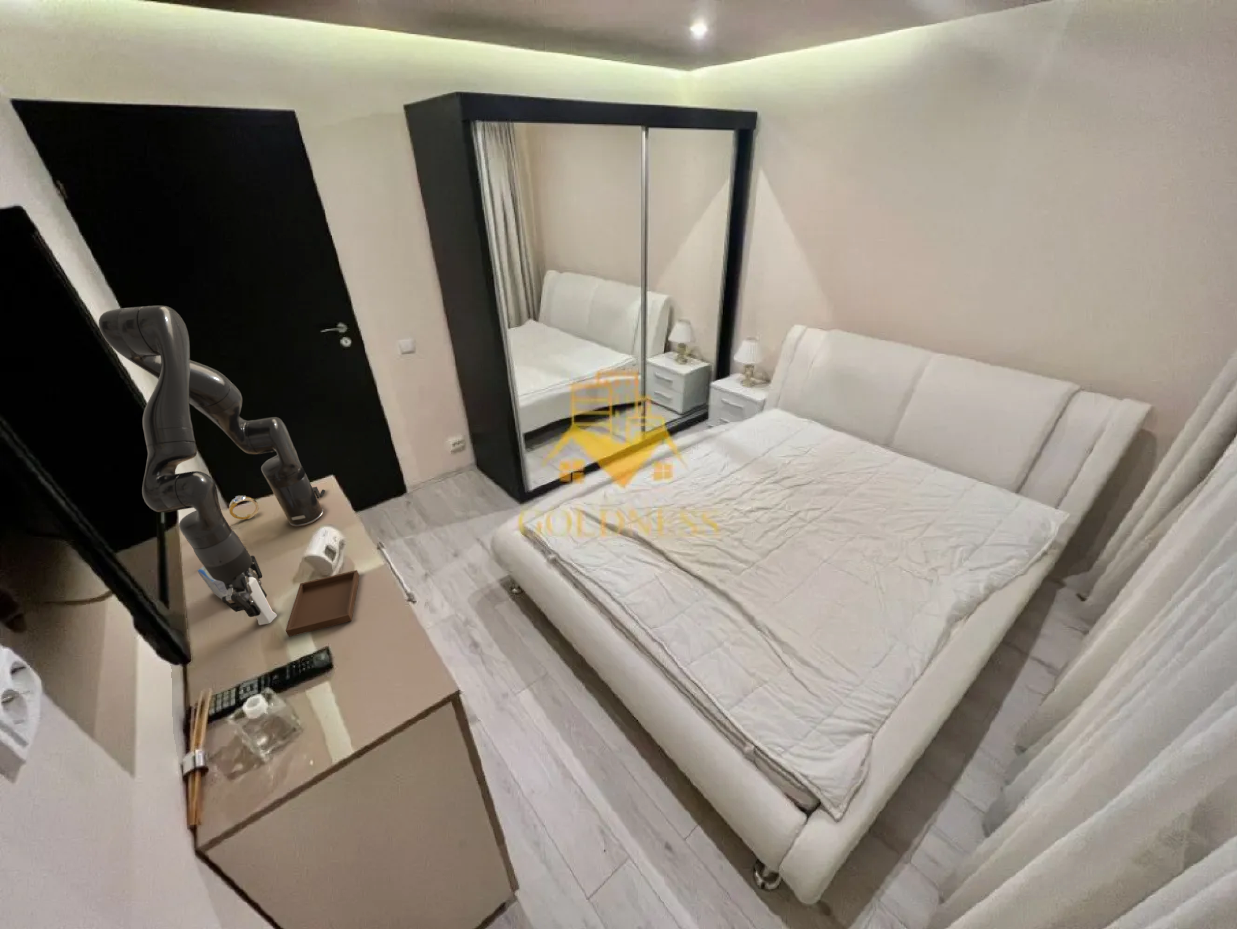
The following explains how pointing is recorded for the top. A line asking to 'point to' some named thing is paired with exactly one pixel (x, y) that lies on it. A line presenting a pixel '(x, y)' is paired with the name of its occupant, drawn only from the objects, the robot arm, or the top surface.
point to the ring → (239, 499)
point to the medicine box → (213, 583)
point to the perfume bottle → (260, 603)
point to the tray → (323, 603)
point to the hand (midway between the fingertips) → (258, 606)
